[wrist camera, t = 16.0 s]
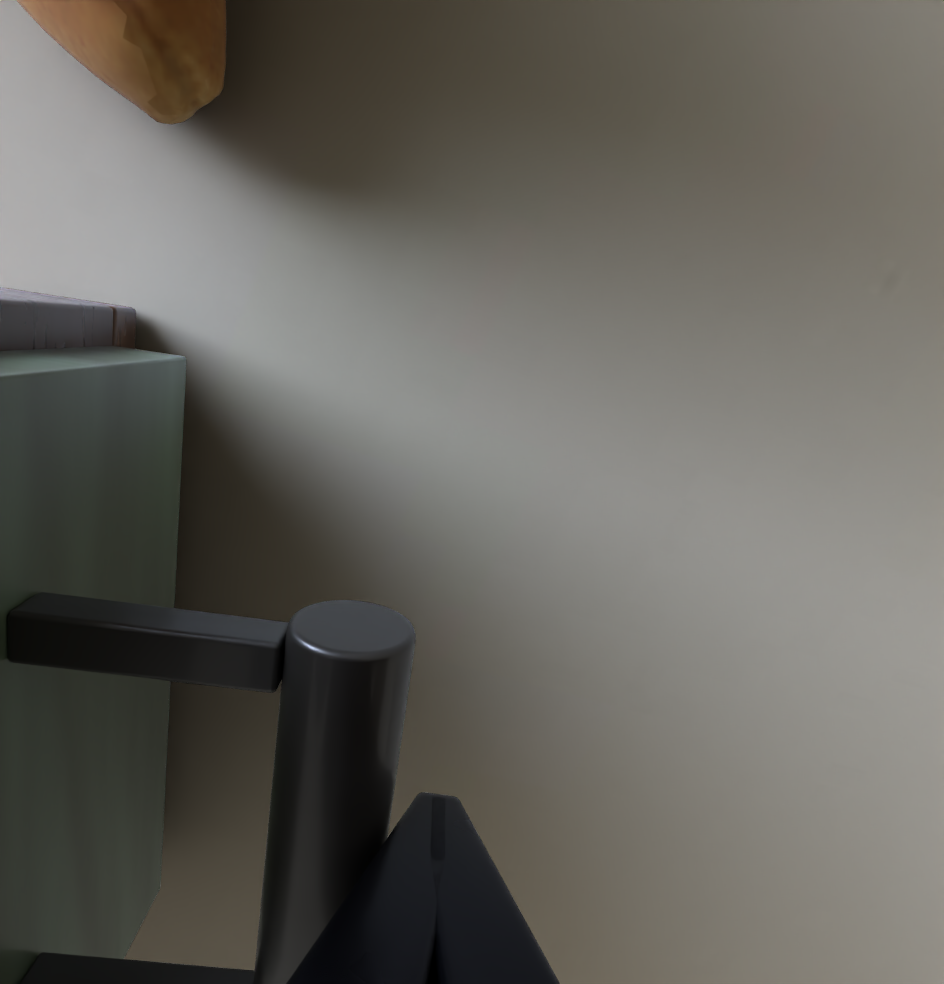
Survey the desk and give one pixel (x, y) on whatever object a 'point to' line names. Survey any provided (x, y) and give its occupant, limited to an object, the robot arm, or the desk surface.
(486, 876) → the robot arm
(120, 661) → the drawer
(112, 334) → the cabinet
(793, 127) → the desk surface
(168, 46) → the stuffed squirrel
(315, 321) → the desk surface
